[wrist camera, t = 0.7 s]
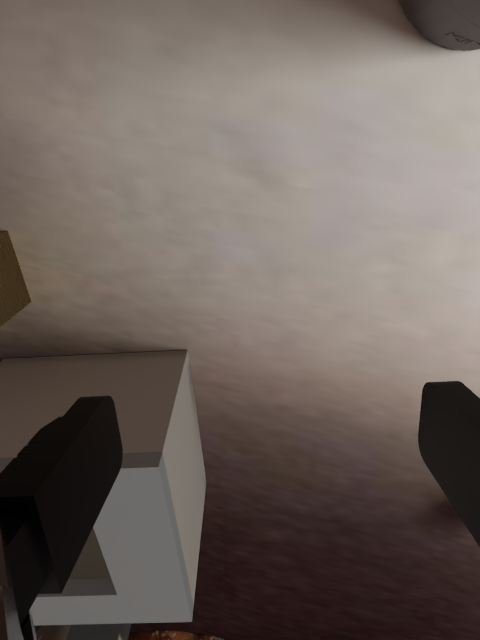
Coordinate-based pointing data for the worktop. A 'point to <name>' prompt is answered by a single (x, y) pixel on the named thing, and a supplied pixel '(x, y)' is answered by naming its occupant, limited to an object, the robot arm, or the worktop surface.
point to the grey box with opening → (122, 482)
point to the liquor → (83, 632)
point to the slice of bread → (169, 636)
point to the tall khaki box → (10, 281)
